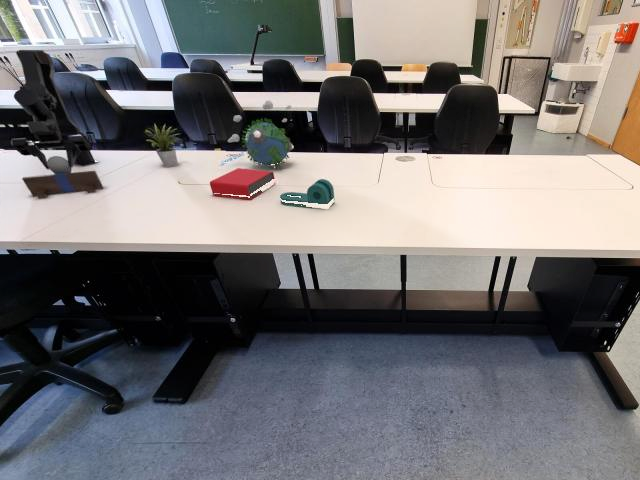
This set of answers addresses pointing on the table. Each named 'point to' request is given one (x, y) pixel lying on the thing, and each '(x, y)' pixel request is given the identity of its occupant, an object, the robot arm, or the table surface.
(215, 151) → the table surface
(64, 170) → the light bulb
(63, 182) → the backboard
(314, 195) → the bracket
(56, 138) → the robot arm
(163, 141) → the house plant
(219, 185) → the red book
